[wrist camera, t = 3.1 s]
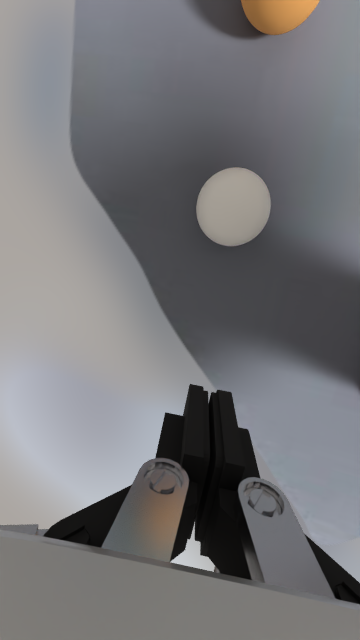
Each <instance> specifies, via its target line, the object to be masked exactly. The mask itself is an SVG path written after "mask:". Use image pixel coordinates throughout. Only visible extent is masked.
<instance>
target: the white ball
mask: <svg viewBox="0 0 360 640" xmlns="http://www.w3.org/2000/svg"><path fill="white" fill-rule="evenodd" d="M270 209H271V199H270V194H269V191H268V188H267V186H266V184H265V183H264V181H263V180H262V179H261V178H260V177H259V176H258V175H257V174H256V173H254V172H252V171H250V170H248V169H245V168H238V167H234V168H228V169H224V170H221V171H219V172H217V173H216V174H214V175H213V176H212V177H210V178H209V179H208V180H207V182H206V183H205V184H204V186H203V187H202V189H201V191H200V193H199V196H198V199H197V205H196V214H197V219H198V223H199V225H200V227H201V229H202V231H203V232H204V233H205V235H206V236H207V237H208V238H209V239H211V240H212V241H214V242H216V243H218V244H220V245H224V246H238V245H242V244H245V243H247V242H249V241H251V240H252V239H254V238H255V237H256V236H257V235H258V234H259V233H260V232H261V231H262V230H263V228H264V227H265V225H266V223H267V221H268V218H269V215H270Z"/></svg>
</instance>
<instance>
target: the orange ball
mask: <svg viewBox="0 0 360 640" xmlns="http://www.w3.org/2000/svg"><path fill="white" fill-rule="evenodd" d="M319 1H320V0H241V3H242V6H243V9H244V12H245V14H246V16H247V18H248V20H249V21H250V23H251V24H252V25H253V26H254V27H255V28H256V29H258V30H259V31H261V32H263V33H265V34H269V35H279V34H283V33H286V32H289V31H291V30H293V29H294V28H296V27H297V26H299V25H300V24H301V23H302V22H304V20H305V19H306V18H307V17H308V16H309V15H310V14H311V13H312V11H313V10H314V9H315V7H316V6H317V4H318V3H319Z"/></svg>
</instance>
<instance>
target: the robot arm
mask: <svg viewBox="0 0 360 640" xmlns="http://www.w3.org/2000/svg"><path fill="white" fill-rule="evenodd" d="M194 522H195V541H200V542H201V550H200V551H201V553H200V555H203V556H207V557H209V559H210V560H211V561H212V562H213V563H214V565H215V569H214V572H212V571H207V570H202V569H198V568H193V567H188V566H184V565H179V564H175V563H170V561H171V560H173V559H174V558H175V557H176V556H178V555H179V554H180V553H182V552H183V551H184V550H185V547H186V543H187V539H190V538H191V534H192V530H193V526H194ZM0 640H360V583H359V582H358V581H357V580H356V579H354V578H353V577H352V576H351V575H350V574H349V573H348V572H347V571H345V570H344V569H343V568H342V567H341V566H340V565H339V564H338V563H336V562H335V561H334V560H333V559H332V558H331V557H330V556H329V555H328V554H326V553H325V552H324V551H323V550H322V549H321V548H320V547H319V546H317V545H316V544H315V543H314V542H313V541H312V540H311V539H310V538H308V537H307V536H306V535H305V534H304V533H303V530H302V528H301V526H300V524H299V522H298V520H297V518H296V516H295V514H294V512H293V510H292V508H291V506H290V504H289V502H288V500H287V498H286V497H285V495H284V493H283V492H282V491H281V490H280V489H279V488H278V487H276V486H275V485H273V484H272V483H270V482H269V481H266V480H264V479H261V478H260V475H259V471H258V467H257V463H256V459H255V455H254V451H253V446H252V442H251V438H250V434H249V431H248V430H247V429H243V428H238V425H237V419H236V414H235V409H234V403H233V398H232V393H231V392H227V391H222V390H217V392H216V393H214V392H212V393H211V396H210V400H209V404H208V391H204V390H203V387H202V386H197V385H192V384H190V386H189V391H188V395H187V400H186V404H185V409H184V414H183V416H180V415H175V414H170V413H165V417H164V422H163V426H162V430H161V435H160V439H159V444H158V449H157V453H156V458H155V459H152V460H149V461H147V462H146V463H144V464H143V465H142V467H141V468H140V470H139V472H138V474H137V476H136V478H135V480H134V482H133V484H132V485H131V486H129V487H127V488H125V489H123V490H121V491H119V492H117V493H115V494H113V495H110V496H108V497H106V498H105V499H103V500H101V501H99V502H97V503H94V504H92V505H90V506H88V507H87V508H84V509H82V510H80V511H78V512H76V513H75V514H72V515H70V516H68V517H66V518H65V519H62V520H60V521H59V522H57V523H56V524H54V525H53V526H51V527H50V529H42V530H41V529H40V530H39V529H38V524H36V525H0Z"/></svg>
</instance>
